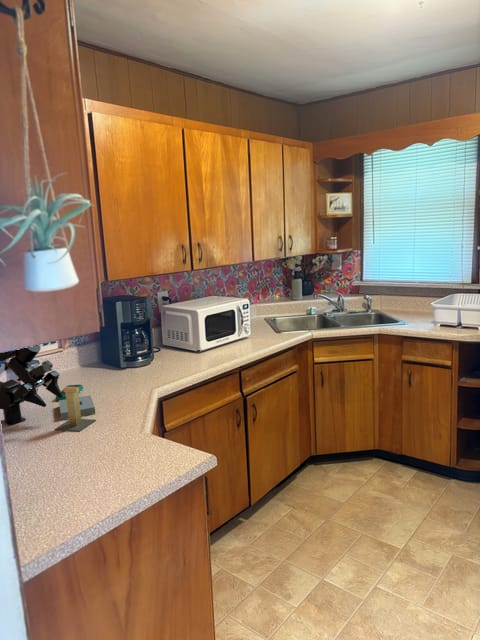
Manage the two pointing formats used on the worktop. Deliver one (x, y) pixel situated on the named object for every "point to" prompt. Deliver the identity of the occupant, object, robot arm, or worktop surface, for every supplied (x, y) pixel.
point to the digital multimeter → (65, 392)
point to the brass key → (73, 405)
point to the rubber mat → (78, 428)
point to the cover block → (85, 407)
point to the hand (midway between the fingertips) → (53, 401)
